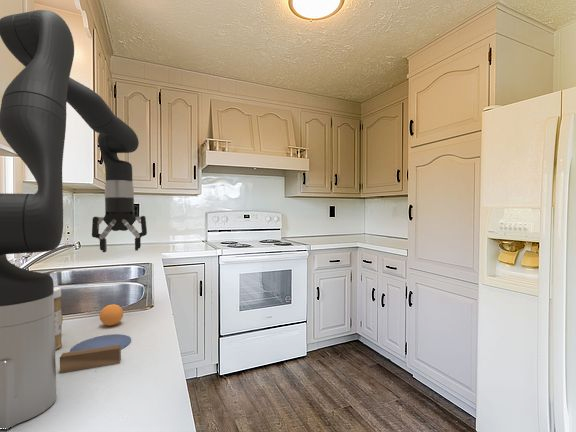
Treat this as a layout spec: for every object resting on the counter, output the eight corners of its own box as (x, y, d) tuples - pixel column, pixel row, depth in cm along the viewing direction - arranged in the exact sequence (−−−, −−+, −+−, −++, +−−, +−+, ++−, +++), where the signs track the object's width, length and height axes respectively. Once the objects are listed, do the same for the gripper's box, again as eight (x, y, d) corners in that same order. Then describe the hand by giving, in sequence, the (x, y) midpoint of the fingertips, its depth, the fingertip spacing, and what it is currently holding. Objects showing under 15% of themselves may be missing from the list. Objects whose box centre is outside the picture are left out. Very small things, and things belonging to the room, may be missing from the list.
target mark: (108, 359, 64) (108, 358, 64) (55, 356, 66) (55, 355, 66) (141, 335, 76) (141, 335, 76) (96, 334, 78) (96, 333, 78)
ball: (114, 329, 81) (114, 308, 81) (95, 328, 82) (94, 307, 82) (127, 321, 87) (127, 301, 87) (109, 321, 87) (108, 301, 87)
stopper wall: (63, 368, 61) (62, 352, 61) (121, 358, 65) (120, 344, 64) (60, 373, 59) (59, 357, 59) (119, 363, 63) (119, 348, 63)
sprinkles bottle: (44, 345, 72) (42, 287, 71) (66, 343, 72) (65, 286, 72) (32, 354, 67) (30, 292, 67) (55, 352, 68) (54, 290, 68)
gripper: (146, 197, 99) (147, 248, 99) (94, 197, 94) (96, 250, 94) (144, 196, 92) (146, 251, 92) (88, 196, 87) (89, 254, 87)
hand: (120, 251), depth 93 cm, fingers open, 8 cm apart
